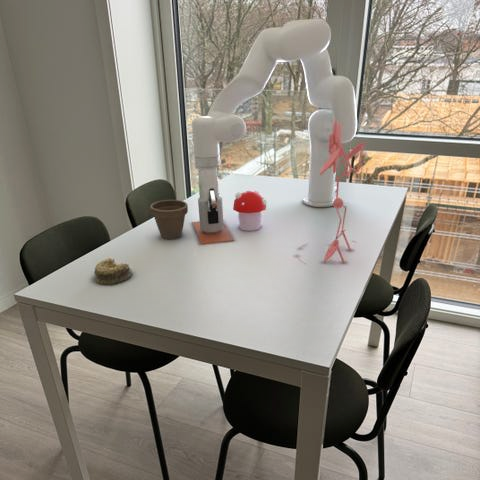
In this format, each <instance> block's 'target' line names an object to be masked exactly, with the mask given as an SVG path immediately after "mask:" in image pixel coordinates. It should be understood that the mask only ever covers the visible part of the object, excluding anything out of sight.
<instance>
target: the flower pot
mask: <svg viewBox="0 0 480 480" xmlns="http://www.w3.org/2000/svg"><path fill="white" fill-rule="evenodd" d="M188 207H189V206H188V203H187V202H185V201H183V200H179V199H164V200H158V201H155V202H152V203H151V204H150V206H149V208H150V214H151V216H152V217H154V220H155V223H156V226H157V229H158V231H159V234H160V236H161V238H163V239H166V240H175V239H178V238H181V236H182V234H183V230H184V226H185V219H186V215H187V214H188V211H189V210H188V209H189V208H188Z"/></svg>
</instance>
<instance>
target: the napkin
mask: <svg viewBox="0 0 480 480" xmlns="http://www.w3.org/2000/svg"><path fill="white" fill-rule="evenodd" d="M192 225H193V228H194V230H195V233H196V235H197V238H198V240H199V243H200V245H210V244H218V243H228V242H234V239H233V237H232V235H231V234H230V232H229V230H228V228H227V226H226V225H225V223H224V222H223V226H224V228H223V229H222V230H221V231H220V232H218V233H214V234H207V233H204V232H203V231H202V230H201V229H200V221H192Z"/></svg>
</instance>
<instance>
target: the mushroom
mask: <svg viewBox="0 0 480 480" xmlns="http://www.w3.org/2000/svg"><path fill="white" fill-rule="evenodd" d="M234 198H235V199H234V200H233V206H232V210H233V211H235V212H237V213H238V215H237V217H238V223H239V228H240V229H241V230H243V231H251V232H253V231H257V230H259V229H260V228H261V225H262V220H263V214H262V212H264V211H266V210H267V204H268V201H267V199H265V198H264V197H263V196H262V195H261V194H260V193H259V191H258V190H245V191H244V192H236V193H235V195H234Z"/></svg>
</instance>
